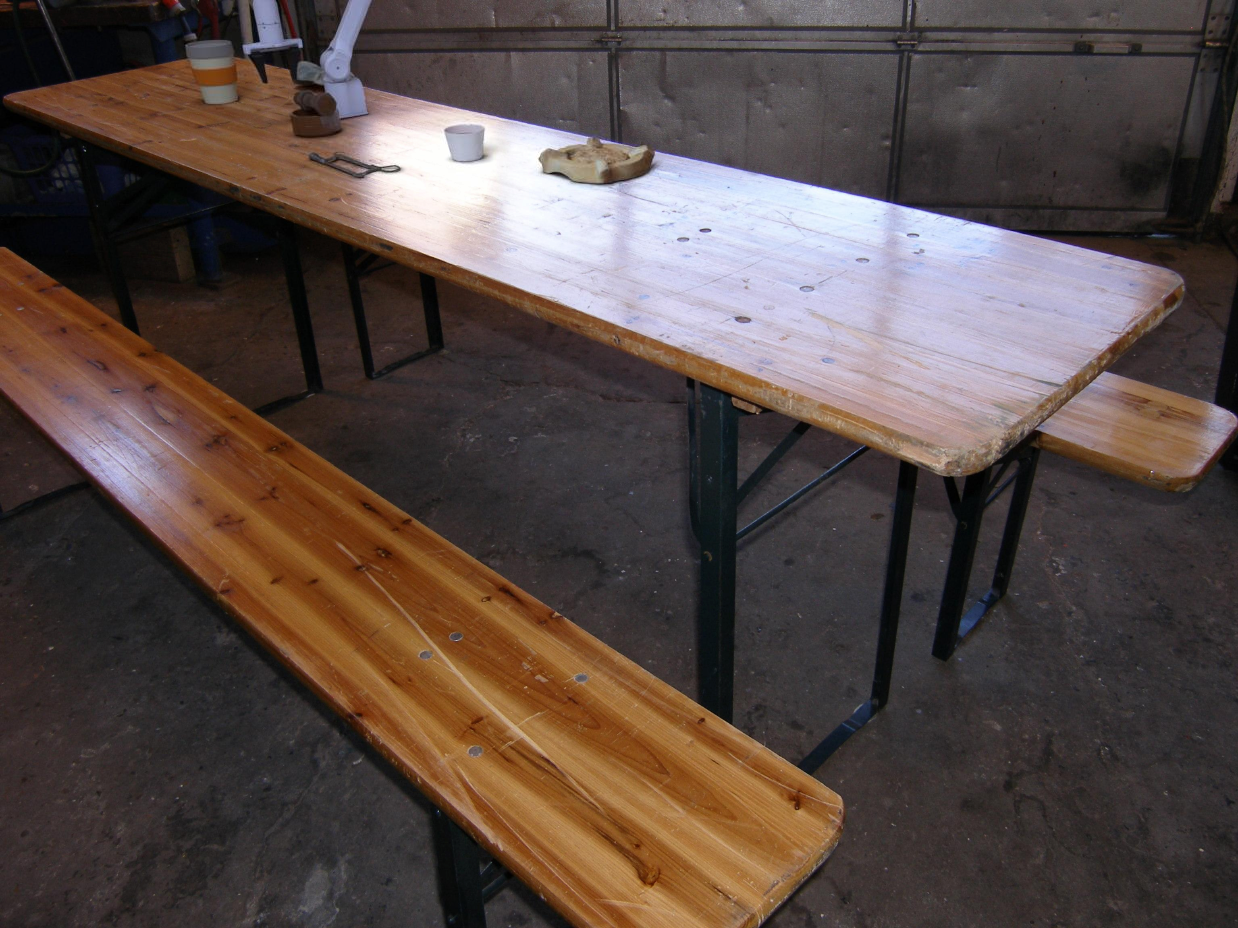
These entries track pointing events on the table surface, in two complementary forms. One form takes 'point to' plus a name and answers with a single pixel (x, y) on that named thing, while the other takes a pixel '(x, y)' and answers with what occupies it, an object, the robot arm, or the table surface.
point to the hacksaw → (371, 167)
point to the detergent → (310, 74)
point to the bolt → (316, 102)
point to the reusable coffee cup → (214, 70)
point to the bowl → (314, 123)
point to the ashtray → (598, 161)
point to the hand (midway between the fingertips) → (279, 81)
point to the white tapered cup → (465, 141)
